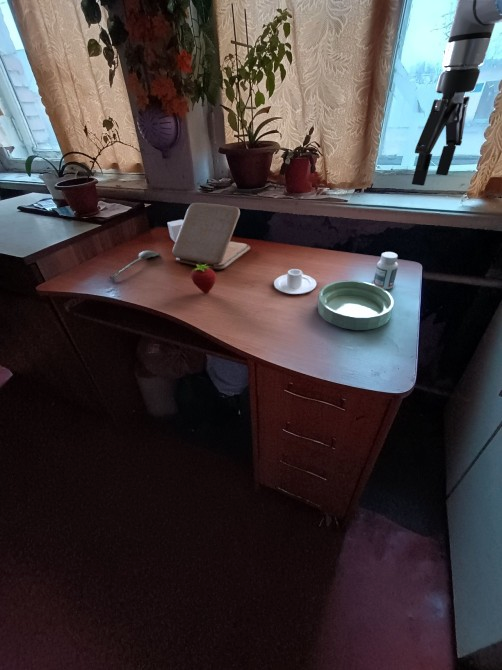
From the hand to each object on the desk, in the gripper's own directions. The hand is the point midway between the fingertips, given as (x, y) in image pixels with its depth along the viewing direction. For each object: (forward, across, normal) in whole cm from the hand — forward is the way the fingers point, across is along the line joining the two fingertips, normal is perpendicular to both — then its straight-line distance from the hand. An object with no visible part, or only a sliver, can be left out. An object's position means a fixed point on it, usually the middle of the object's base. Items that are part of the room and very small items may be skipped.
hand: (430, 179), depth 78 cm
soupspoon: (+25, +56, -66) cm, 90 cm away
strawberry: (+25, +50, -33) cm, 65 cm away
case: (+25, +33, -53) cm, 67 cm away
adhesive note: (+25, +31, -77) cm, 87 cm away
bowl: (+25, +30, +1) cm, 39 cm away
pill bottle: (+25, +13, 0) cm, 28 cm away
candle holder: (+25, +30, -18) cm, 43 cm away
